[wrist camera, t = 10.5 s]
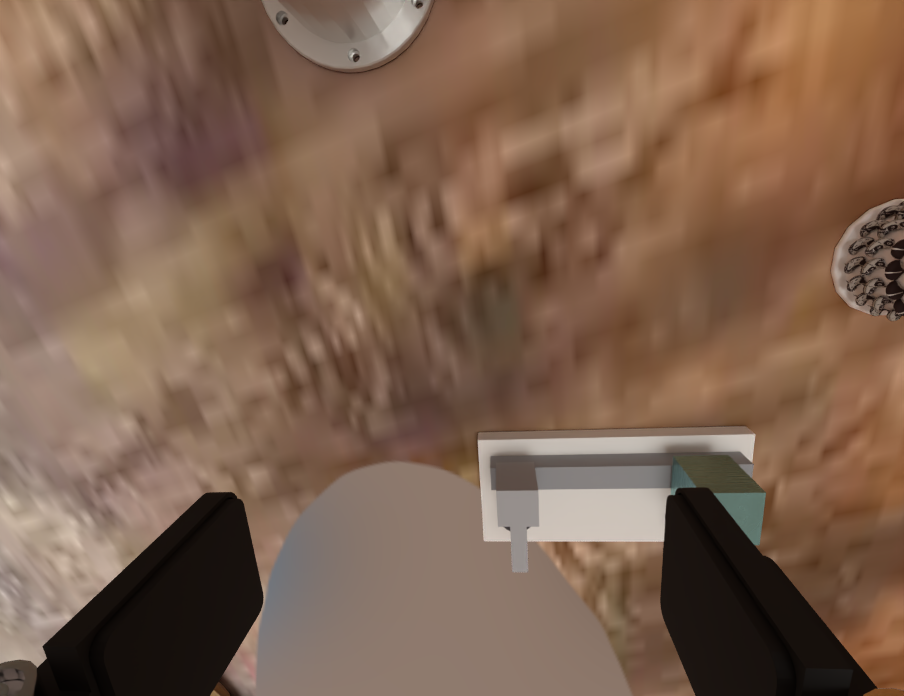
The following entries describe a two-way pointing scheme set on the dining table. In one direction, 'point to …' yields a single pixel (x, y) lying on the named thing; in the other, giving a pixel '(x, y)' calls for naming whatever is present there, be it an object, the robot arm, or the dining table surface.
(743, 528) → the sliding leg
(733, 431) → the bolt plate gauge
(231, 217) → the dining table surface
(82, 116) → the dining table surface
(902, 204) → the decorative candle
